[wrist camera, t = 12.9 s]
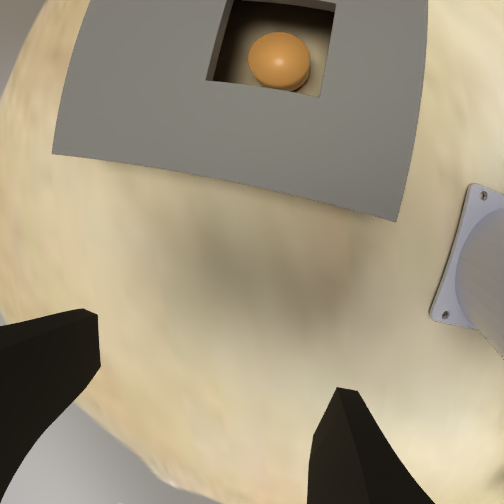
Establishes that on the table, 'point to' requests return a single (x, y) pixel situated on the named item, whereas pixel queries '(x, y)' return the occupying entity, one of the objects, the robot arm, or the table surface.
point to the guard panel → (249, 101)
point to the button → (279, 61)
